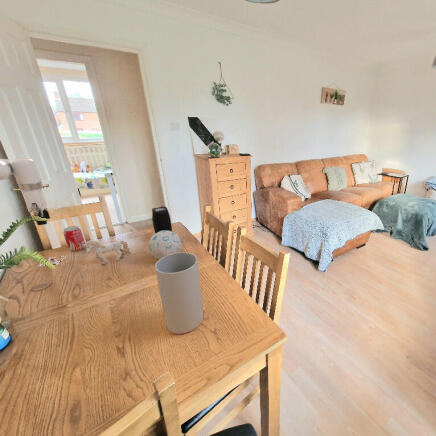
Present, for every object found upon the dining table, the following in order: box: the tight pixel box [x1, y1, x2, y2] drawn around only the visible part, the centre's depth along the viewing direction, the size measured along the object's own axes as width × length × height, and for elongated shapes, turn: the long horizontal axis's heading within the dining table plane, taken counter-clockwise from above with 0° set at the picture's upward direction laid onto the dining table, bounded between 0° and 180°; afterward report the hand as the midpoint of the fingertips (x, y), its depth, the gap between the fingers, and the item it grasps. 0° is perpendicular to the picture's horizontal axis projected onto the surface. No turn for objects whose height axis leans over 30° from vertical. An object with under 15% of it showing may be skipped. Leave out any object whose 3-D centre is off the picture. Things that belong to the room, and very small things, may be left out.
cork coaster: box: [30, 280, 52, 292], centre depth 99 cm, size 6×6×1 cm
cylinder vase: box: [154, 251, 205, 335], centre depth 82 cm, size 12×12×25 cm
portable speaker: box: [151, 206, 173, 234], centre depth 139 cm, size 9×9×20 cm
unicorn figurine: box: [79, 239, 132, 265], centre depth 115 cm, size 7×20×13 cm, turn 142°
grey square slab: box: [37, 255, 68, 268], centre depth 116 cm, size 8×8×2 cm
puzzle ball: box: [147, 230, 183, 260], centre depth 121 cm, size 15×15×15 cm
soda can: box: [62, 225, 86, 252], centre depth 125 cm, size 7×7×12 cm
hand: (44, 221), depth 116 cm, fingers open, 7 cm apart
